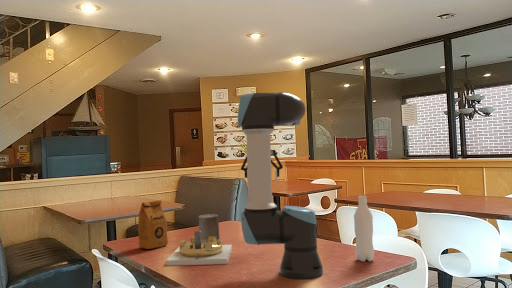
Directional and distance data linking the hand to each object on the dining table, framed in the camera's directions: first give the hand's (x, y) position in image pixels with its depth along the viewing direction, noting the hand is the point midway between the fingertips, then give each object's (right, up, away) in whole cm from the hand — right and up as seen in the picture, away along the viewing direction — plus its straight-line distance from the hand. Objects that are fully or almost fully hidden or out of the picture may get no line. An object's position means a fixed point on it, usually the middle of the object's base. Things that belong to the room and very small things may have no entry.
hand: (262, 184), depth 192 cm
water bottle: (+39, -26, -37) cm, 60 cm away
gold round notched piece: (-26, -26, -23) cm, 44 cm away
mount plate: (-26, -28, -23) cm, 45 cm away
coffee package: (-52, -30, -3) cm, 60 cm away
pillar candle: (-26, -29, +1) cm, 39 cm away
